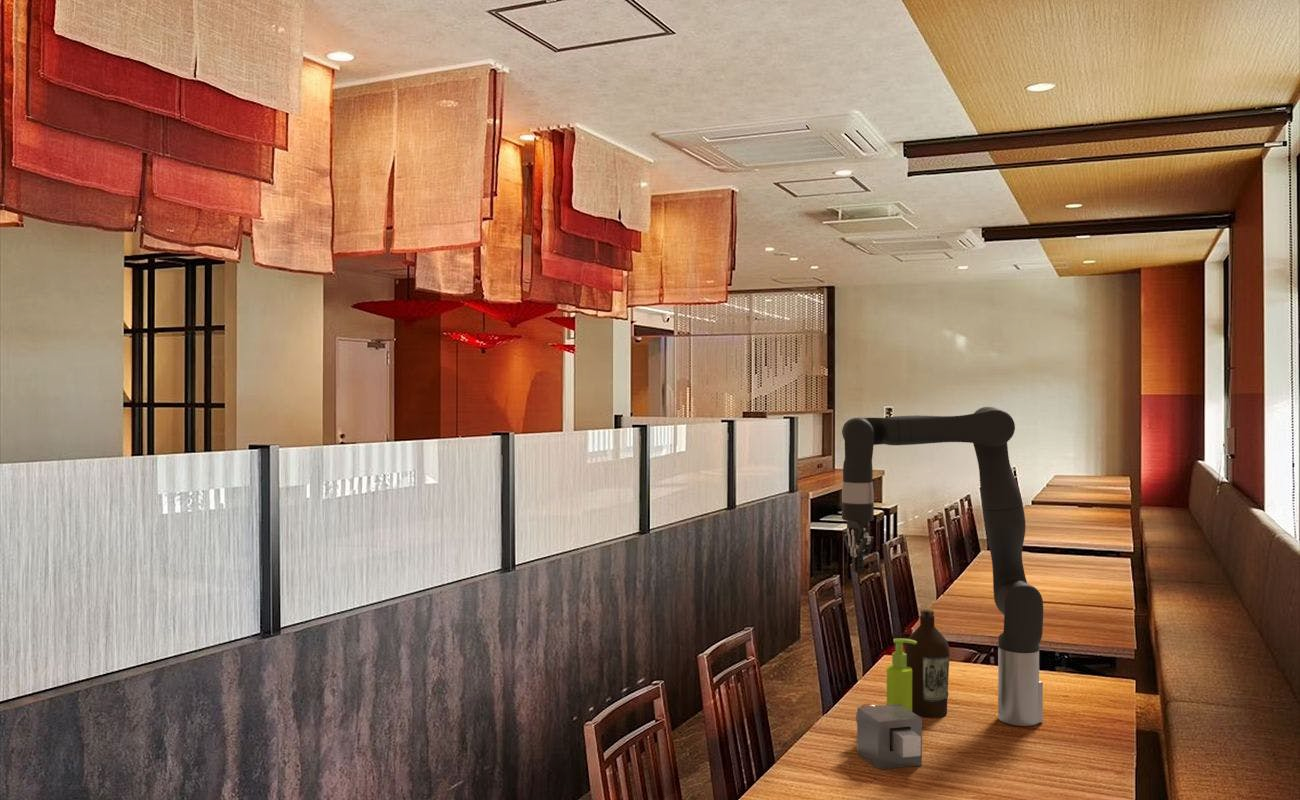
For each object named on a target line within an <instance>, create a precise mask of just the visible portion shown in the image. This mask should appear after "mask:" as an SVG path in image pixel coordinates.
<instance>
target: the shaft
mask: <svg viewBox="0 0 1300 800" xmlns="http://www.w3.org/2000/svg"><path fill="white" fill-rule="evenodd" d="M869 706H876V705H875V704H873V703H865V704H863V705H861V706H860V707H869ZM855 721H856V722H855V723H857V713H856V714H855ZM890 748H891V749H892V750H893V751H895V752H896V753H897V754H899V755H900V756H902V757H913V756H921V736H920V735H918V734H916V733H915V732H913V731H912V730H910V729H909V728H907V727H900V728H890Z"/></svg>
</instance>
